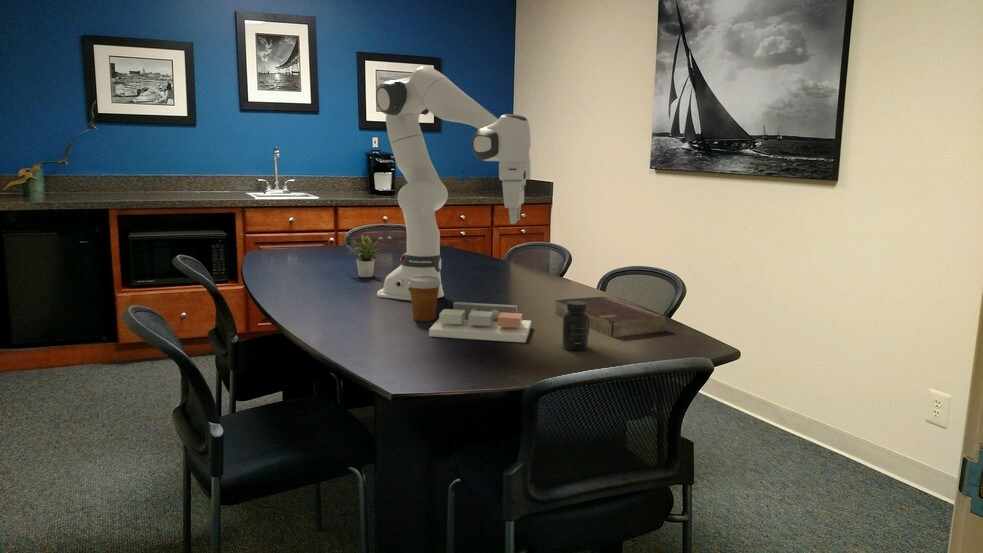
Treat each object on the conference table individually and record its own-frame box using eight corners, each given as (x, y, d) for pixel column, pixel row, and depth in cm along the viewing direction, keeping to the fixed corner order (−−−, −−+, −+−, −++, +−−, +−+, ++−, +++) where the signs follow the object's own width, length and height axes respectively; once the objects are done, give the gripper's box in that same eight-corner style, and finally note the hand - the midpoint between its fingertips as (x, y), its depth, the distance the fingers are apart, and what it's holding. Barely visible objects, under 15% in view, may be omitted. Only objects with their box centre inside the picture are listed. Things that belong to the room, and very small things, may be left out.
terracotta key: (497, 326, 191) (497, 317, 191) (500, 321, 197) (500, 312, 196) (519, 327, 190) (520, 318, 190) (522, 322, 196) (522, 313, 196)
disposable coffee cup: (415, 323, 204) (415, 282, 202) (403, 316, 212) (403, 276, 210) (445, 320, 208) (445, 280, 206) (432, 313, 216) (433, 274, 214)
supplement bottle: (559, 344, 186) (561, 299, 184) (584, 344, 187) (587, 299, 185) (564, 351, 180) (566, 305, 177) (590, 351, 180) (593, 305, 178)
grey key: (468, 324, 192) (468, 315, 192) (472, 319, 198) (472, 310, 198) (490, 325, 191) (490, 316, 191) (493, 320, 197) (493, 311, 197)
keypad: (429, 336, 191) (429, 312, 190) (441, 322, 206) (442, 300, 205) (525, 342, 187) (526, 318, 186) (531, 327, 203) (531, 305, 201)
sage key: (439, 322, 193) (439, 313, 193) (443, 317, 199) (444, 308, 199) (460, 324, 192) (461, 315, 192) (465, 318, 198) (465, 310, 198)
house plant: (341, 273, 278) (340, 231, 275) (375, 271, 284) (375, 230, 281) (350, 279, 266) (349, 236, 263) (386, 277, 271) (385, 235, 268)
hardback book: (665, 332, 203) (666, 315, 202) (612, 339, 194) (613, 321, 194) (604, 310, 228) (605, 295, 227) (555, 315, 220) (556, 300, 219)
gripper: (507, 172, 210) (508, 218, 213) (499, 174, 190) (499, 225, 193) (529, 171, 209) (529, 218, 212) (522, 174, 190) (522, 225, 192)
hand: (514, 222), depth 202 cm, fingers open, 8 cm apart
